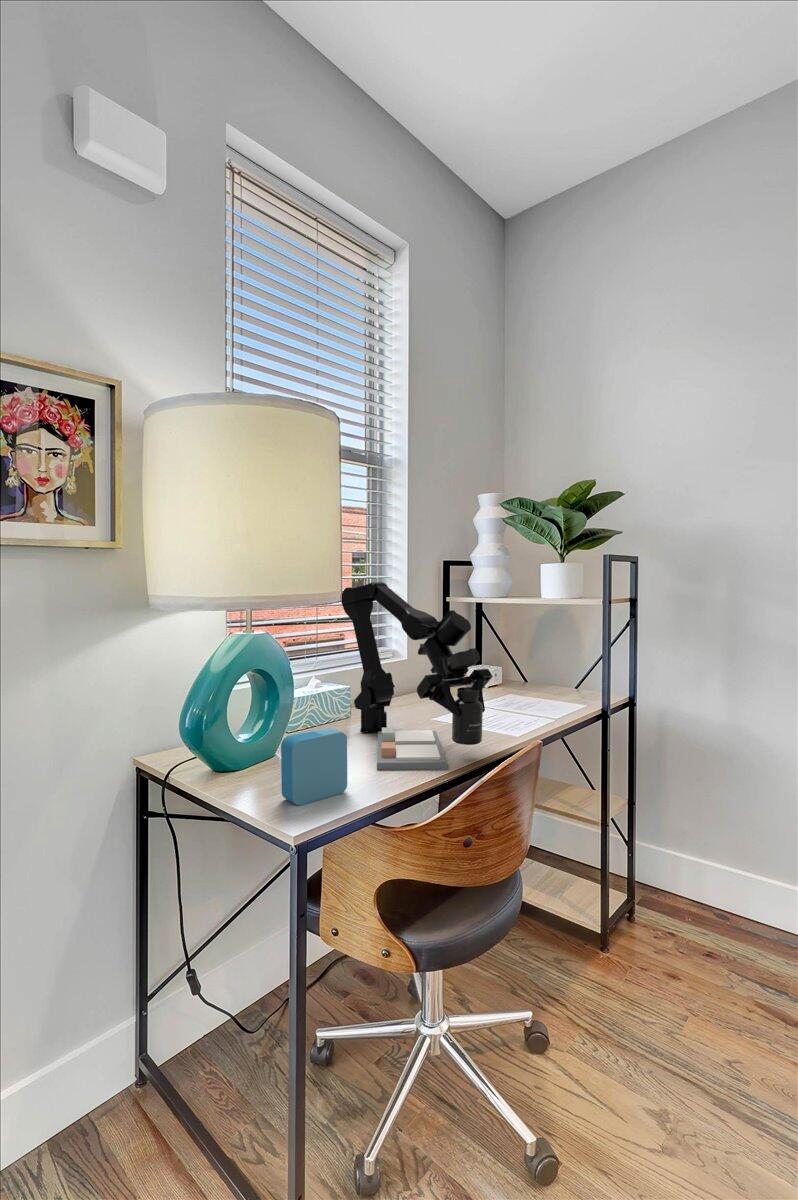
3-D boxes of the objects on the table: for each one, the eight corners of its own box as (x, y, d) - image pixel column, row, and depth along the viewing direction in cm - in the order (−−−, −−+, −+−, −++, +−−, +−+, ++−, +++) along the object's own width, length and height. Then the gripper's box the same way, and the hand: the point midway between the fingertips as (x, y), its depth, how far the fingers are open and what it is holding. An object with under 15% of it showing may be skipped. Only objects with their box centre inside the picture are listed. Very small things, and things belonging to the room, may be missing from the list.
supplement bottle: (475, 747, 132) (476, 693, 132) (447, 742, 136) (447, 690, 135) (486, 739, 138) (487, 687, 138) (458, 735, 142) (459, 684, 141)
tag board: (376, 769, 130) (376, 753, 129) (378, 737, 156) (378, 723, 155) (446, 769, 130) (446, 753, 130) (436, 736, 156) (436, 723, 156)
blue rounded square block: (334, 786, 120) (334, 726, 119) (348, 792, 116) (347, 730, 116) (281, 800, 112) (280, 736, 112) (293, 807, 109) (292, 742, 108)
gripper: (424, 639, 134) (455, 697, 125) (487, 634, 144) (520, 688, 136) (404, 669, 141) (432, 726, 132) (466, 663, 151) (495, 715, 143)
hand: (471, 713), depth 135 cm, fingers closed on supplement bottle, 7 cm apart
